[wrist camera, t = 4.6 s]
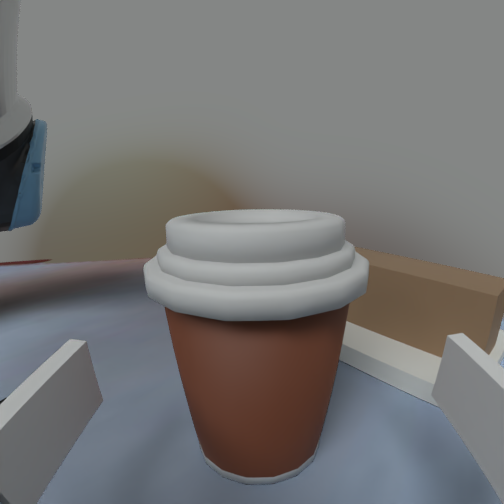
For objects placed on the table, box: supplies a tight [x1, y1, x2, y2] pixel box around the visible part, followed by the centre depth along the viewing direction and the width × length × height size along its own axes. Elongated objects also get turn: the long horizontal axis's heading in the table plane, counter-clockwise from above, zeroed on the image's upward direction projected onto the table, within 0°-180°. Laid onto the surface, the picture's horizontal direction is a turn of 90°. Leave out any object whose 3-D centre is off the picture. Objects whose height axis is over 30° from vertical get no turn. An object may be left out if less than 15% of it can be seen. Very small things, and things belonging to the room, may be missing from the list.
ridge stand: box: [339, 247, 504, 407], centre depth 26 cm, size 24×12×7 cm, turn 34°
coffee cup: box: [143, 209, 369, 485], centre depth 14 cm, size 9×9×12 cm
